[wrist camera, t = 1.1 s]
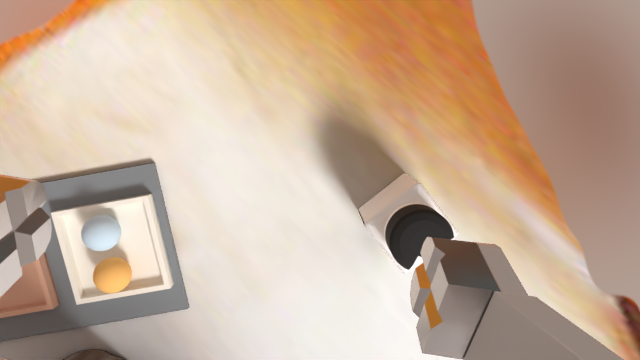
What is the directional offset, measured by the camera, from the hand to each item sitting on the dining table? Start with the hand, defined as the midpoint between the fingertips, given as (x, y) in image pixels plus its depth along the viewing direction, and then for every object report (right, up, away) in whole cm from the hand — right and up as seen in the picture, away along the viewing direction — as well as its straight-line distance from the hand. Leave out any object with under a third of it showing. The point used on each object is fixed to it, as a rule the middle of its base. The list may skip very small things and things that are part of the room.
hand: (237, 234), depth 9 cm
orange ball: (-22, -10, +39) cm, 46 cm away
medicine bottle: (+11, -3, +42) cm, 43 cm away
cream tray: (-22, -7, +41) cm, 47 cm away
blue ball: (-23, -5, +38) cm, 45 cm away
